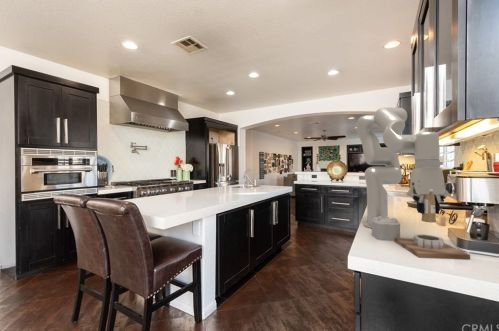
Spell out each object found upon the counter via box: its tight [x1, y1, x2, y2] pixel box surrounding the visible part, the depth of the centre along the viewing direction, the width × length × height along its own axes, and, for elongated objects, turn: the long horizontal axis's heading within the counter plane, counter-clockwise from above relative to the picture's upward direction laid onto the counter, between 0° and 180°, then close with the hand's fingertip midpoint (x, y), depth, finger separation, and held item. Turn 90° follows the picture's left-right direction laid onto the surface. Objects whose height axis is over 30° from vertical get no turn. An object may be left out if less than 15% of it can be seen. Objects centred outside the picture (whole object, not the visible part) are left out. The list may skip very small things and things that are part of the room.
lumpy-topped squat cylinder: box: [371, 216, 401, 242], centre depth 108 cm, size 10×13×9 cm
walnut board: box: [393, 237, 471, 260], centre depth 91 cm, size 18×16×2 cm
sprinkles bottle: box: [421, 189, 437, 224], centre depth 91 cm, size 5×5×14 cm
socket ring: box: [413, 233, 444, 250], centre depth 91 cm, size 9×9×3 cm
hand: (428, 212), depth 91 cm, fingers closed on sprinkles bottle, 4 cm apart
